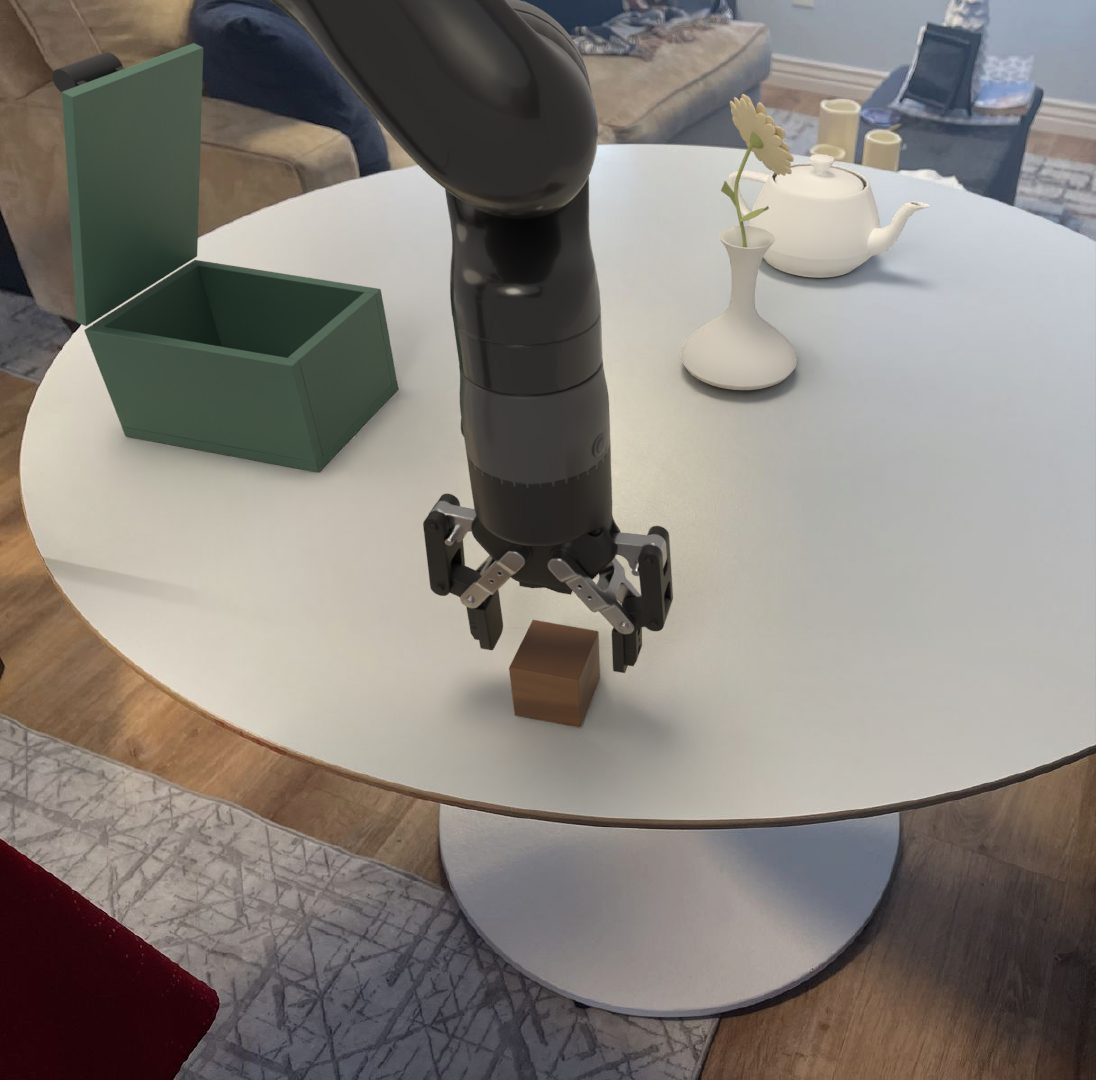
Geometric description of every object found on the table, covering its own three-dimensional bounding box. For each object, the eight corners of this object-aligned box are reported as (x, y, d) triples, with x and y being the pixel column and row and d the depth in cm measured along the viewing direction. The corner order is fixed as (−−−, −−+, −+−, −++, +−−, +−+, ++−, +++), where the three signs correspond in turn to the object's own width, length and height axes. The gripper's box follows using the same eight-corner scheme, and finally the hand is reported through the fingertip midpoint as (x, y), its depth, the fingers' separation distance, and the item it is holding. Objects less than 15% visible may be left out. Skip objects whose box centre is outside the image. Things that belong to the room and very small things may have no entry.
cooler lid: (203, 47, 77) (140, 17, 76) (72, 97, 66) (-1, 62, 66) (197, 256, 89) (143, 231, 88) (86, 326, 78) (24, 298, 78)
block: (580, 728, 63) (578, 680, 60) (514, 715, 63) (508, 667, 61) (600, 677, 66) (598, 630, 64) (537, 666, 67) (532, 619, 64)
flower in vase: (807, 398, 95) (841, 127, 79) (689, 405, 93) (699, 128, 77) (776, 333, 105) (801, 81, 89) (669, 338, 103) (674, 80, 87)
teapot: (694, 258, 119) (697, 153, 111) (754, 217, 129) (761, 119, 122) (890, 313, 110) (909, 204, 102) (937, 264, 121) (957, 162, 113)
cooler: (398, 388, 93) (381, 288, 87) (318, 472, 82) (291, 365, 76) (224, 358, 95) (194, 259, 89) (125, 436, 85) (83, 329, 78)
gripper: (686, 417, 54) (680, 629, 65) (438, 381, 56) (471, 594, 66) (653, 498, 49) (653, 716, 59) (378, 456, 50) (424, 675, 61)
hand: (556, 651), depth 63 cm, fingers open, 8 cm apart
